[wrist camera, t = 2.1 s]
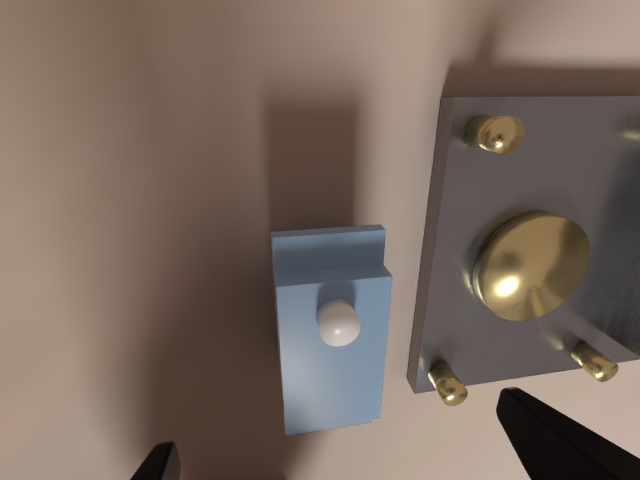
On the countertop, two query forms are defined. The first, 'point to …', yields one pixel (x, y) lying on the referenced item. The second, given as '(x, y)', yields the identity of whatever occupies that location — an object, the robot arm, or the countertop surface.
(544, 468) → the robot arm
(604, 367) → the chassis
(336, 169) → the countertop surface
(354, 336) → the servo
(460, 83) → the countertop surface
